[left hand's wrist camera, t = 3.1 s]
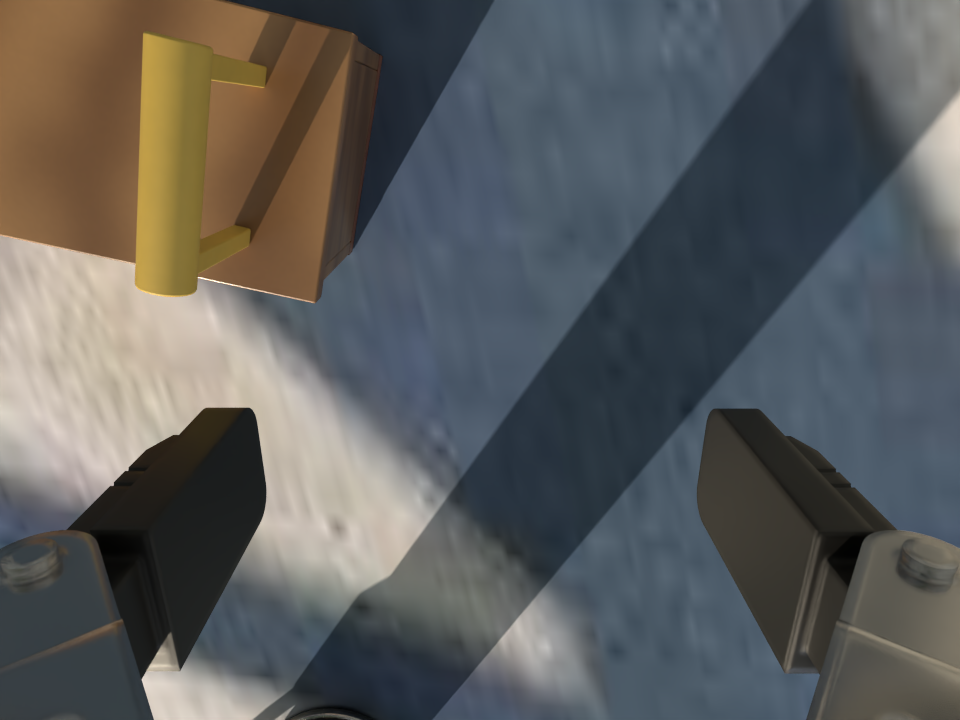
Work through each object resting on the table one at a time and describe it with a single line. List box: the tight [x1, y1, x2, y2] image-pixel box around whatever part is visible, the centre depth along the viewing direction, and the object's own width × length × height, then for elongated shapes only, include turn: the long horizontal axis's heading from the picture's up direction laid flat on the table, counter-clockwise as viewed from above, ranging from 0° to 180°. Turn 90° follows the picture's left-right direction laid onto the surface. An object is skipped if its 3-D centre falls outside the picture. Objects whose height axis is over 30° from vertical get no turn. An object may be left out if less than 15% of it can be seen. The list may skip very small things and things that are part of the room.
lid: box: [0, 0, 358, 303], centre depth 20 cm, size 15×10×8 cm, turn 77°
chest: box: [324, 42, 383, 279], centre depth 28 cm, size 15×10×9 cm, turn 77°
